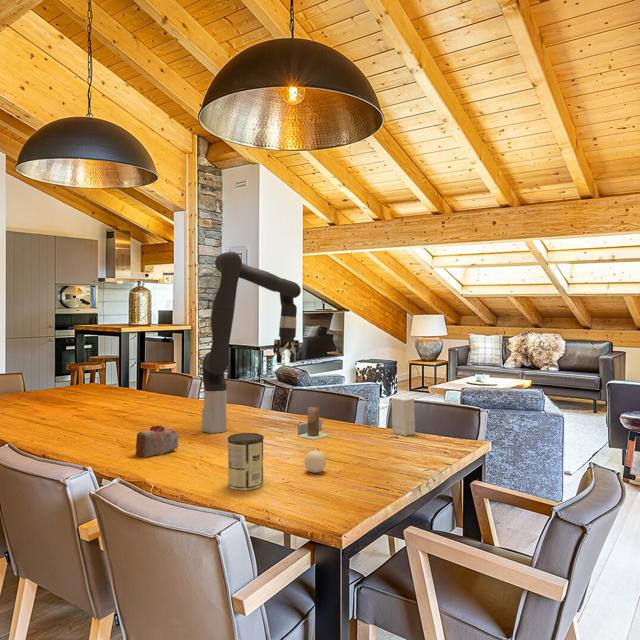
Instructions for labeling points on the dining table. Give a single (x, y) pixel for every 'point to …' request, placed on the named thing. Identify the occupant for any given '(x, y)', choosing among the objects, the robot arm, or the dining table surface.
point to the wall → (306, 427)
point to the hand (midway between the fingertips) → (285, 362)
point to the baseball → (315, 461)
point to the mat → (313, 436)
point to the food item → (156, 441)
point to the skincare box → (403, 416)
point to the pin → (313, 421)
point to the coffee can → (245, 461)
